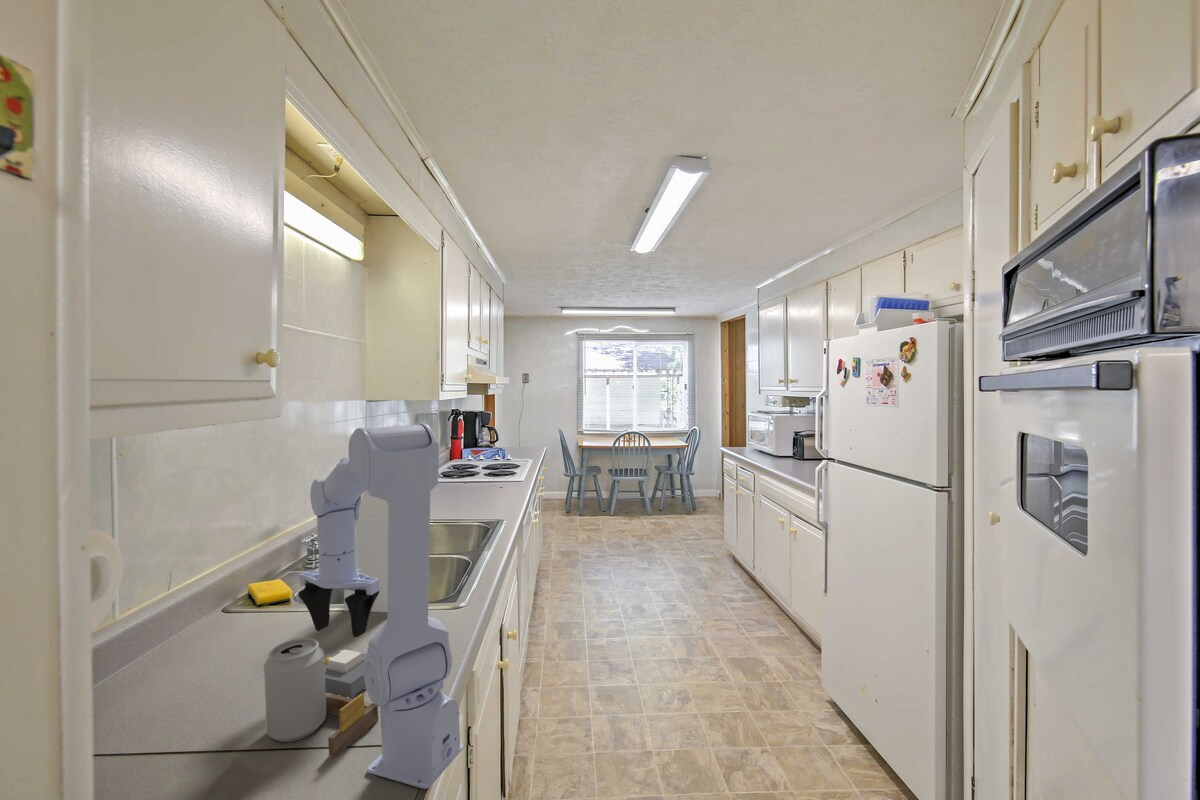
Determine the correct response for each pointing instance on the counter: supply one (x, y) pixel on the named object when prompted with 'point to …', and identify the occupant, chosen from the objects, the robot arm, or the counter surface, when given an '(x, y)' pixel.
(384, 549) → the milk
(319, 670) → the can
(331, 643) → the counter surface
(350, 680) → the panel
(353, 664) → the block
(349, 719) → the lockout bracket
